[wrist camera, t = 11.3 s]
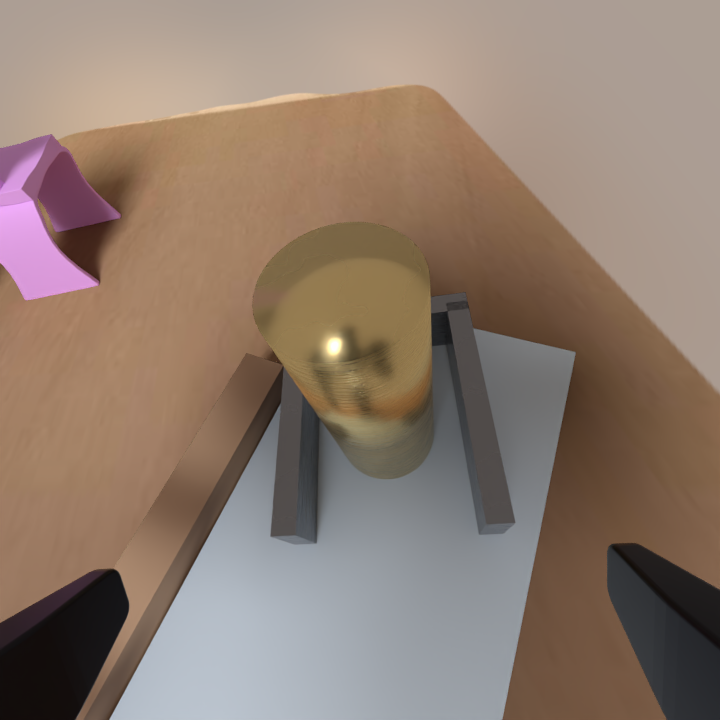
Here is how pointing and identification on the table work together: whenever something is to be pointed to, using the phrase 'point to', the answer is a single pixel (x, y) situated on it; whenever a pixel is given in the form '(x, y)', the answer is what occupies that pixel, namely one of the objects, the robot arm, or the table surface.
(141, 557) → the strip
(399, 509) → the door panel
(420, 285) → the gold cylinder
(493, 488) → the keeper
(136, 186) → the table surface
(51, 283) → the toy chair
